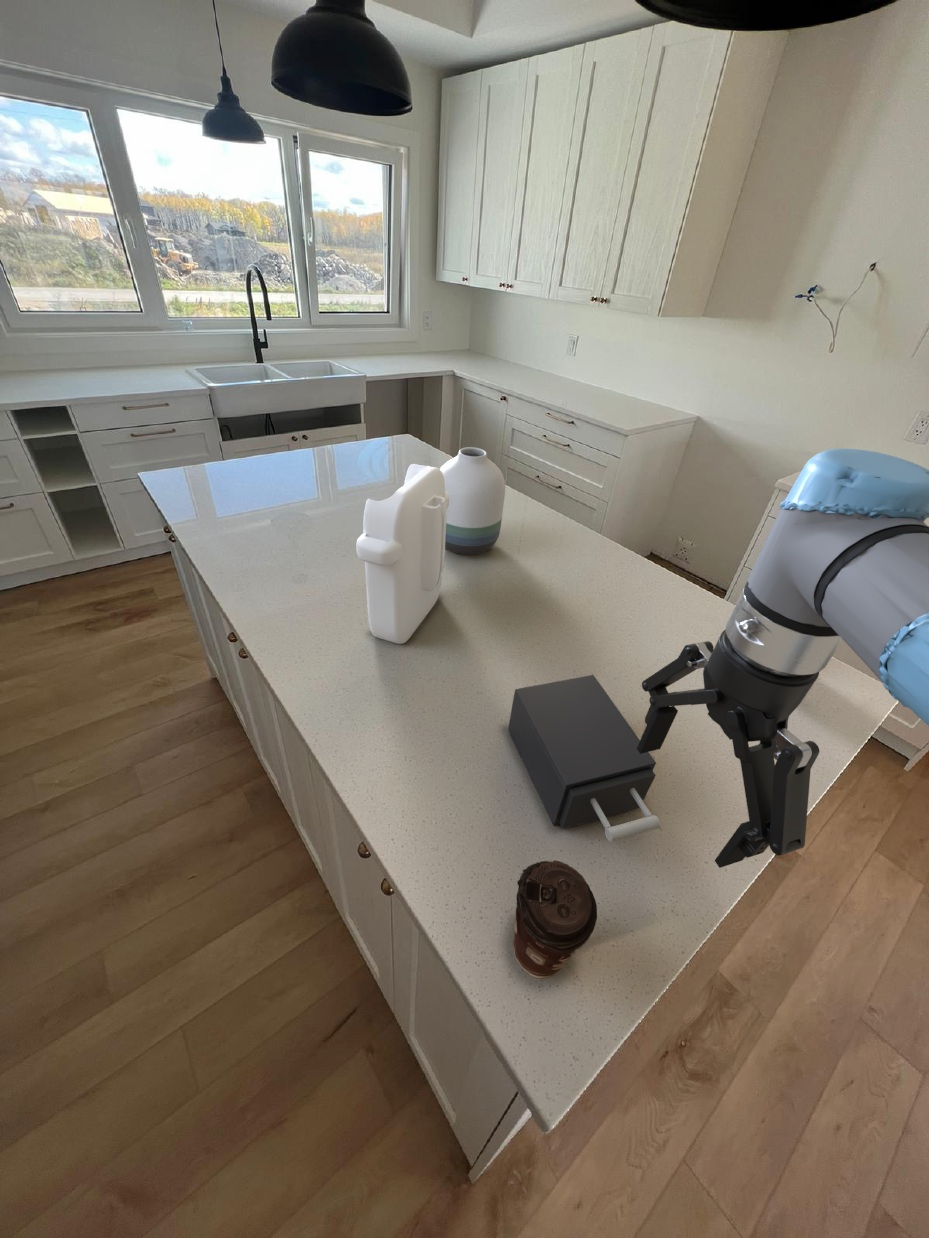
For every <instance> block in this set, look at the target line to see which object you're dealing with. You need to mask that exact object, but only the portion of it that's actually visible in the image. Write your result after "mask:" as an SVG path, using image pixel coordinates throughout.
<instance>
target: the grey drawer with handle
mask: <svg viewBox="0 0 929 1238" xmlns="http://www.w3.org/2000/svg"><path fill="white" fill-rule="evenodd" d="M656 776H657V775H656V773H655V771H654V769H653V770H652V769H651V768H650V769H646V770H642V771H638V772H636V771H634V772H630V773H626V774H622V775H618V776H614V777H610V778H606V779H602V780H598V781H594V782H590V783H586V784H582V785H578V786H574V787H570V789H569V792H568V795H567V798H566V801H565V804H564V807H563V810H562V813H561V816H560V819H559V823H560V824H559V826H560V827H561V829H562V830H565V829H568V828H572V827H576V826H579V825H583V824H587V823H590V822H595V821H597V820H600V822H601V824H602V826H603V827H604V834H605V837H606V839H607V841H608V842H610V843H611V842H615V841H618V840H623V839H626V838H629V837H633V836H636V835H640V834H643V833H646V832H649V831H654V830H656V829H659V828H660V826H661V822H660V819H659V818H658V816H657V815H655V814H652V813H651V811H650V810H649V809H648V806H647V805H646V804H645V802H644V801H645V798H646V796H647V794H648V792H649V790H650V789H651V786H652V784H653V782H654V780H655V778H656ZM638 809H640V810H641V812H642V813H643V815H644V816H645V817H642V818H638V819H634V820H631V821H627V822H624V823H620V824H616V825H613V826H611V824H610V822H609V820H608V819H607V818H608V817H612V816H616V815H620V814H623V813H627V812H630V811H634V810H638Z"/></svg>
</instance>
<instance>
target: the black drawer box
mask: <svg viewBox="0 0 929 1238" xmlns="http://www.w3.org/2000/svg"><path fill="white" fill-rule="evenodd" d="M512 699H513V700H512V705H511V710H510V716H509V721H508V727H507V731H508V734H509V736H510V738H511V740H512V743H513V744H514V746H515V748H516V751H517V752H518V754H519V756H520V759H521V762H522V763H523V765H524V767H525V769H526V771H527V773H528V776H529V777H530V780H531V782H532V783H533V786H534V788H535V790H536V792H537V794H538V796H539V799H540V801H541V803H542V805H543V807H544V809H545V811H546V813H547V815H548V817H549V820H550V821H551V823H552V826H553V827H554V826H560V823H559V819H560V816H561V813H562V810H563V807H564V804H565V801H566V798H567V795H568V792H569V789H570V787H574V786H578V785H582V784H586V783H590V782H594V781H598V780H602V779H606V778H610V777H614V776H618V775H622V774H626V773H630V772H634V771H636V772H638V771H642V770H646V769H650V768H651V769H652V770H653V771H654V770H655V767H656V765H657V762H656V760H655V759H654V758H653V756H652V755H651V753H650V752H646V753H642V754H640V753H639V751H638V750H637V747H638V744H639V742H640V740H641V738H640V737H639V736H638V735H637V734H636V732H635V731H634V729H633V728H632V727H631V725H630V724H629V723H628V721H627V719H626V718H625V717H624V715H623V714H622V712H621V710H619V708H618V707H617V706H616V704H615V703H614V701H613V700H612V699H611V697H610V696H609V694H608V693H607V691H606V690H605V689H604V687H603V686H602V684H601V683H600V682H599V680H598V679H597V678H596V676H595V675H594V674H589V675H583V676H580V677H574V678H567V679H563V680H556V681H552V682H547V683H541V684H537V685H530V686H526V687H520V688H515V689H514V694H513V698H512Z"/></svg>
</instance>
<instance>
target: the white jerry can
mask: <svg viewBox="0 0 929 1238" xmlns="http://www.w3.org/2000/svg"><path fill="white" fill-rule="evenodd" d="M448 506H449V494H448V492H447V491H446V490H445V480H444V476H443V473H442V471H441V470H440V468H438V467H436V466H429V465H424V464H423V465H422V464H416V463H410V465H409V466H408V468H407V470H406V473H405V478H404V484H403V485H401V487H399V488H398V489H397V490H396V491H394V493H393V494H392V495H391V496H390V497H387V498H384V499H381V500H373V499H371V498H366V502H365V505H364V510H363V519H362V534H361V535H360V536H359V537H358V538H357V539H356V543H355V545H356V547H355V548H356V555H357V557H358V559H360V561H362V562H364V573H365V586H366V604H367V605H366V606H367V619H368V627H369V629H370V632H371V634H372V635H373V637H375V638H377V639H379V640H380V639H381V640H383V641H387V642H391V643H394V644H396V645H397V644H398V645H403V644H405V643H406V642H407V641H408V640H409V639H410V638H411V637H412V635H413V634H414V633H415V632H416V630H417V629H418V628H419V626H420V625H421V624H422V623H423V621H424V619H425V618H426V617H427V616H428V614H429V613H430V611H431V610H432V609H433V608H434V606H435V605H436V603H437V601H438V600H439V597H440V596H439V595H440V593H441V592H440V591H441V586H442V579H443V572H444V566H445V554H446V548H445V538H446V517H447V511H446V510H447V509H448Z"/></svg>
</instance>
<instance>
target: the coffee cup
mask: <svg viewBox="0 0 929 1238" xmlns="http://www.w3.org/2000/svg"><path fill="white" fill-rule="evenodd" d="M517 886H518V887H517V893H516V899H515V900H516V903H515V916H514V923H513V932H514V934H513V935H514V936H513V941H512V949H513V954H514V959H515V961H516V962H517V963H518V964H519V966H520V967H521V969H522V970H523V971H524V972H526V973H527V974H528V975H529V976H531V977H534V978H536V979H547V978H549V977H553V976H555V975H556V974H558V973H559V972H560V971H561V970H562V969H563V968H564V967H565V965H566V964H567V962H568V961H569V960H570V959H571V958H572V956H573V955H574V953H575V952H576V950H579V949H580V948H581V947H583V946H584V945H585V944H586V943H587V941H588V940H590V939H591V938H590V937H591V935H592V934H593V932H594V931H595V927H596V924H597V920H598V906H597V901H596V898H595V895H594V893H593V891H592V889H591V888H590V885H589V884H588V883H587V881H586V879H585V878H584V876H583V875H582V874H581V873H580V872H579V871H578V870H577V869H575V868H574V867H572V866H570V865H569V864H567V863H564V862H562V861H559V860H553V861H550V860H542V861H539V862H536V863H532V864H530V865H528V866H527V867H526V868H525V869H522V873H521V875H520V877H519V879H518V880H517Z"/></svg>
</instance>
